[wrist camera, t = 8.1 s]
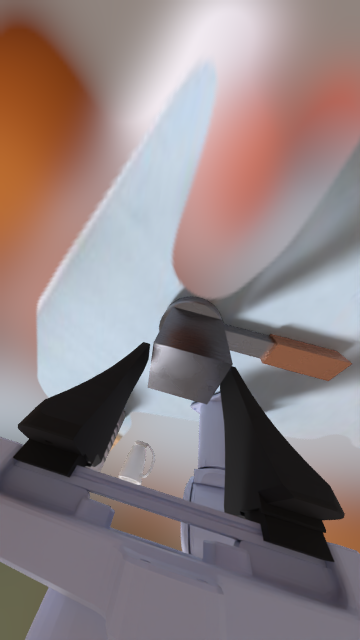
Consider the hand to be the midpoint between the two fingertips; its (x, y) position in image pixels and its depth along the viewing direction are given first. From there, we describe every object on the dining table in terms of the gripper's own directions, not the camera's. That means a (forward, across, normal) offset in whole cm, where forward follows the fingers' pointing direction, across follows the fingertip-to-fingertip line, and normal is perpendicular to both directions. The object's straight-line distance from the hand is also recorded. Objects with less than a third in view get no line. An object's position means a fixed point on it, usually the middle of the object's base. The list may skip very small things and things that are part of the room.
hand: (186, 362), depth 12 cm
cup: (+7, +4, +50) cm, 50 cm away
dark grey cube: (+4, 0, 0) cm, 4 cm away
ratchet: (+6, -7, 0) cm, 9 cm away
